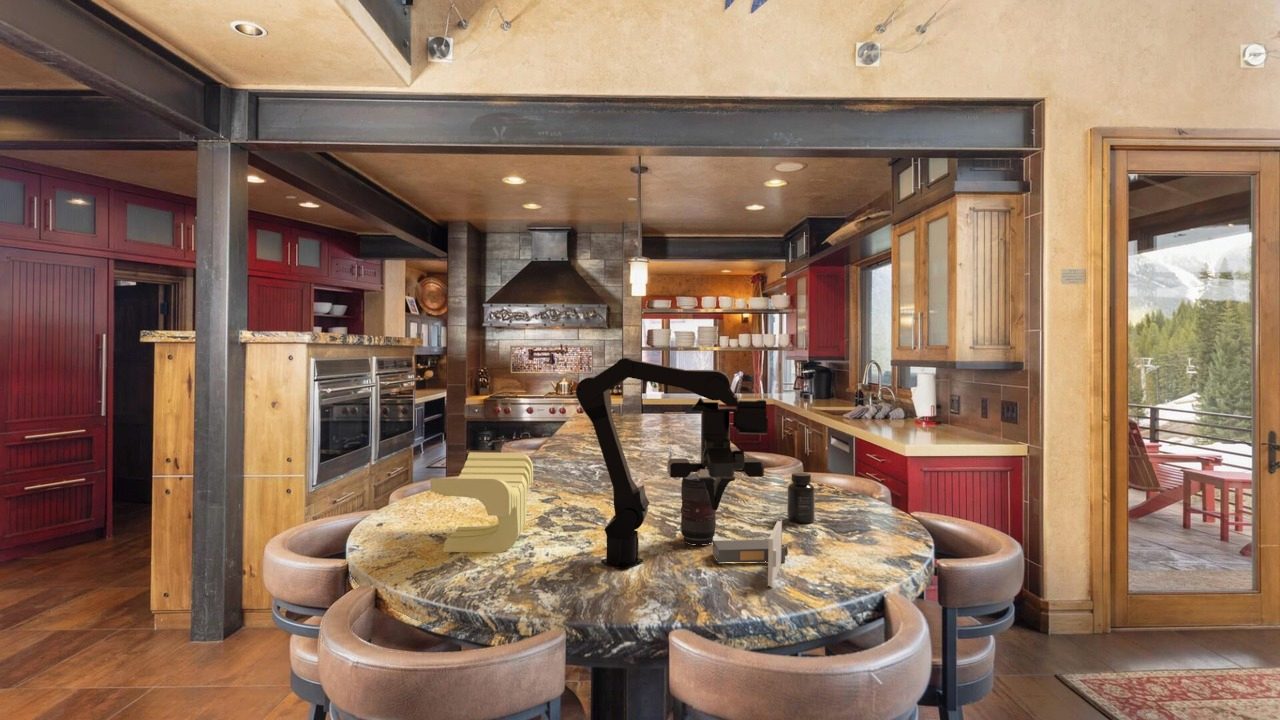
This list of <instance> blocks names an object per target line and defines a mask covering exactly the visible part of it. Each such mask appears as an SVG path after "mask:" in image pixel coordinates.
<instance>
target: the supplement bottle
mask: <svg viewBox="0 0 1280 720" xmlns="http://www.w3.org/2000/svg"><path fill="white" fill-rule="evenodd" d="M811 475H812V474H810V473H808V472H807V473H806V472H793V473H791V479H790V480H791V483H790V484H789V485H788V486H787V519H788V521H789V522H791V523H796V524H811V523H814V521H815V516H816V515H815V514H816V513H815V510H816V509H815V506H816V505H815V503H816V502H815V500H816V498H815V494H816V493H815V492H816V491H815V487H814V485H812V484H811V483H812V480H811Z"/></svg>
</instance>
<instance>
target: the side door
mask: <svg viewBox="0 0 1280 720" xmlns="http://www.w3.org/2000/svg"><path fill="white" fill-rule="evenodd" d="M768 540H769V546H768V563H767V587H768V586H770V587H769V588H773V586H774V583H775V581H776V579H775V578H777V576H778V574H779V570H780V568H781V566H782V563H781V559H782V543H783V519H782V518H777V521H776V523H775V525H774V527H773V529H772V532H771V533H770V536H768Z"/></svg>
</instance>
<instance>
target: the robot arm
mask: <svg viewBox="0 0 1280 720" xmlns="http://www.w3.org/2000/svg"><path fill="white" fill-rule="evenodd" d="M628 378H630V379H635V380H640V381H645V382H648V383H649V382H650V383H655V384H660V385H666V386H669V387H670V386H671V387H674V388H675V387H676V388H681V389H684V390H686V391H688V392H691V393H693V394H694V395H697V396H700V398H699V399H698V400H697V402H696V403H695V404H693V405H692V407H691V410H692V411H694V412H700V415H701V417H700V422H701V423H700V462H690V461H689V460H688V458H669V460H668V461H667V468H666V469H667V473H668V475H669V477H670V478H674V479H675V478H677V479H678V478H679V479H680V478H682V479H683V478H687V477H688V476H689V475H690V474H691V473H694V474H695V476H696V477H697V479H698V480H699V481H702V482H703V484H704V486H705V488H706V491H707V494H708V497H709V501H710V504H711V507H712V509H713V510H716V511H718V508H719V506H720V503H721V500H722V497H723V495H724V492H725V490H726V489H727V486H728V484H729V483H730V482H734V481H736V478H735V476H734V475H735V473H739V472H740V473H743V472H744V474H745V475H746V476H748V477H750V478H758V477H759V478H760V477H761V478H762V477H764V476H765V467H764V464H763V462H761V461H760V460H759V459H758V458H756V457H745V453H744V450H733V451H732V448H731V440H730V439H731V438H730V437H731V435H730V432H731V431H730V429H731V426H730V424H731V423H730V421H731V412H732V413H733V414H732V415H733V416H732V418H733V419H732V427H733V429H736V431H738V434H739V435H741V434H742V435H768V424H769V423H768V416H767V412H768V411H767V401H766V400H765V399H757V400H739V398H738V395H737V394H735V392H734V391H733V390H732V389H731V381H730V378H729V376H728V374H726V373H725V372H724V371H721V370H717V369H711V370H710V369H684V368H683V369H682V368H677V367H674V366H673V367H672V366H668V365H663V364H658V363H651V362H647V361H641V360H636V359H633V358H631V357H623V358H620V359H619V360H617V362H616V363H614V364H613V365H611V366H610V367H608V368H606V369H605V370H604V371H602V372H600V373H598V374H597V375H595V376H589V377H586V378H585V377H584V378H583V379H581V380H580V381H579V382H578V384H577V385H576V388H575V396H576V399H577V400H578V402H579V404H580V406H581V408H582V411H583V412H584V414H585V415H586V416H587V418H588V419H589V420H590V422H591V423H592V427H593V429H594V432H595V435H596V438H597V441H598V444H599V445H598V446H599V448H600V451H601V454H602V457H603V460H604V463H605V466H606V470H607V473H608V476H609V479H610V481H611V486H612V490H613V507H614V508H613V509H614V515H613V516H612V518H611V519H610V520H609V522H608V524H606V526H605V528H604V533H605V536H606V558H603V559H601V560H600V563H601V564H603V565H606V566H609V567H613V568H616V569H618V570H623V571H624V570H627V569H630V568H632V567H635V566H637V565H640V564H642V563H644V559H643V558H641V557H639V531H638V529H640V527H641V526H642V524H643V523H644V521H645V519H646V517H647V515H648V513H649V508H648V507H649V505H650V503H651V502H650V501H649V500H648V498H647V496H646V491H645V490H646V488H645V485H643V484H642V485H640V486H637V484H636V483H635V482H634V480H633V478H632V475H631V471H630V468H629V465H628V462H627V459H626V456H625V452H624V450H623V447H622V444H621V441H620V437H619V434H618V432H617V428H616V425H615V422H614V419H613V415H612V414H613V411H612V408H613V407H612V396H611V390H613V389H614V388H616V387H617V386H619V385H620V384H621V383H623V382H624V381H625V380H627V379H628ZM702 397H703V398H705V399H708V400H710V401H704V400H703V398H702ZM711 401H712V402H711ZM713 401H715V402H713ZM716 401H717V402H716ZM719 401H720V402H722V403H723V404H724V405H726V406H720V405H719ZM713 477H714V478H715V491H714V479H713ZM641 562H642V563H641ZM639 563H640V564H639ZM636 564H637V565H636Z"/></svg>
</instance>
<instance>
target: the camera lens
mask: <svg viewBox="0 0 1280 720" xmlns="http://www.w3.org/2000/svg"><path fill="white" fill-rule="evenodd" d="M713 479H714V491H715V478H714V477H713ZM680 491H681V494H680V495H681V507H680V514H681V518H680V519H681V520H680V528H681V535H682V536H683V542H684V541H685V542H687V543H690V544H696V545H702V544H709V543H712V544H713V541H714V536H715V535H716V524H717V523H716V522H717V518H716V515H717V514H716V511H717V510H713V509H712V507H711V504H710V501H709V497H708V494H707V491H706V488H705V486H704V484H703V482H702V481H699V480H698V479H697V477H696V476H695V473H690V475H689V476H688V477H687V478H682V480H681V490H680ZM685 542H684V543H685Z"/></svg>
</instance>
